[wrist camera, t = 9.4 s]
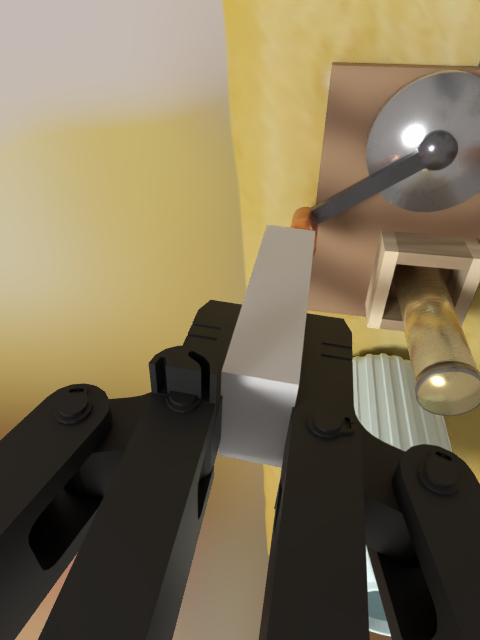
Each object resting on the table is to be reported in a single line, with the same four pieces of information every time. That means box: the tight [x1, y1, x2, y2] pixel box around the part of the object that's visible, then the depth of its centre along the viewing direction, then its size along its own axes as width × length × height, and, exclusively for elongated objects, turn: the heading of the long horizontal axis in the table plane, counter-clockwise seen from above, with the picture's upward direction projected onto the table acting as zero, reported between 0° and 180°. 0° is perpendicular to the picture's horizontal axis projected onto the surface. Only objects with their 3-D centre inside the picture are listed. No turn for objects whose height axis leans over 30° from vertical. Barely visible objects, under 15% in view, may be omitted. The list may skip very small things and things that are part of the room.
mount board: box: [307, 62, 480, 317], centre depth 34 cm, size 20×13×2 cm, turn 0°
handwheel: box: [291, 70, 480, 256], centre depth 29 cm, size 9×16×6 cm, turn 125°
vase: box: [352, 353, 452, 636], centre depth 38 cm, size 12×12×22 cm
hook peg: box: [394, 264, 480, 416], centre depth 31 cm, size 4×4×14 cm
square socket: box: [365, 231, 480, 331], centre depth 35 cm, size 7×7×4 cm
